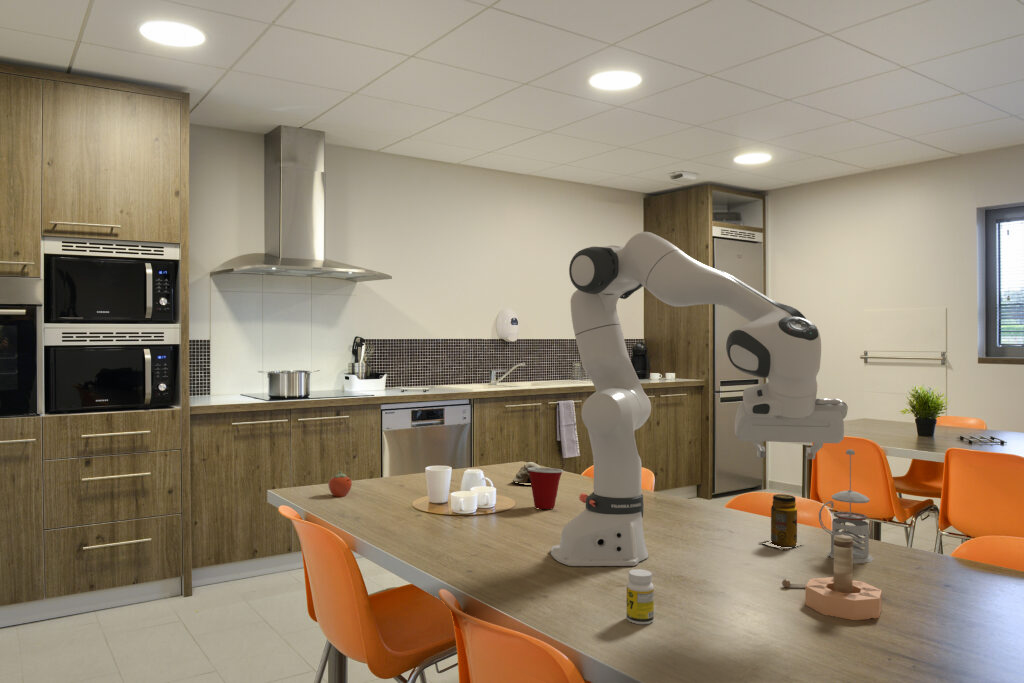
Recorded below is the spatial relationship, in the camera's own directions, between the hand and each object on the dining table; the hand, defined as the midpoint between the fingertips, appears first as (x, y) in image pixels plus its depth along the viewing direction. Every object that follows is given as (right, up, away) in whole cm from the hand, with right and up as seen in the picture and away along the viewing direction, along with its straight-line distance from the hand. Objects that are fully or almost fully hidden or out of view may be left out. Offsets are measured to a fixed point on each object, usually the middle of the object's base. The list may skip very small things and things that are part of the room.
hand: (785, 456), depth 146 cm
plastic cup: (-45, -27, +71) cm, 89 cm away
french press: (+23, -27, +23) cm, 42 cm away
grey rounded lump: (-49, -28, +111) cm, 124 cm away
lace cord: (+9, -27, 0) cm, 28 cm away
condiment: (+11, -27, +32) cm, 44 cm away
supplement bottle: (-33, -26, -18) cm, 46 cm away
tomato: (-111, -27, +87) cm, 143 cm away
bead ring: (+7, -26, -11) cm, 29 cm away
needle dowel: (+7, -26, -11) cm, 29 cm away
